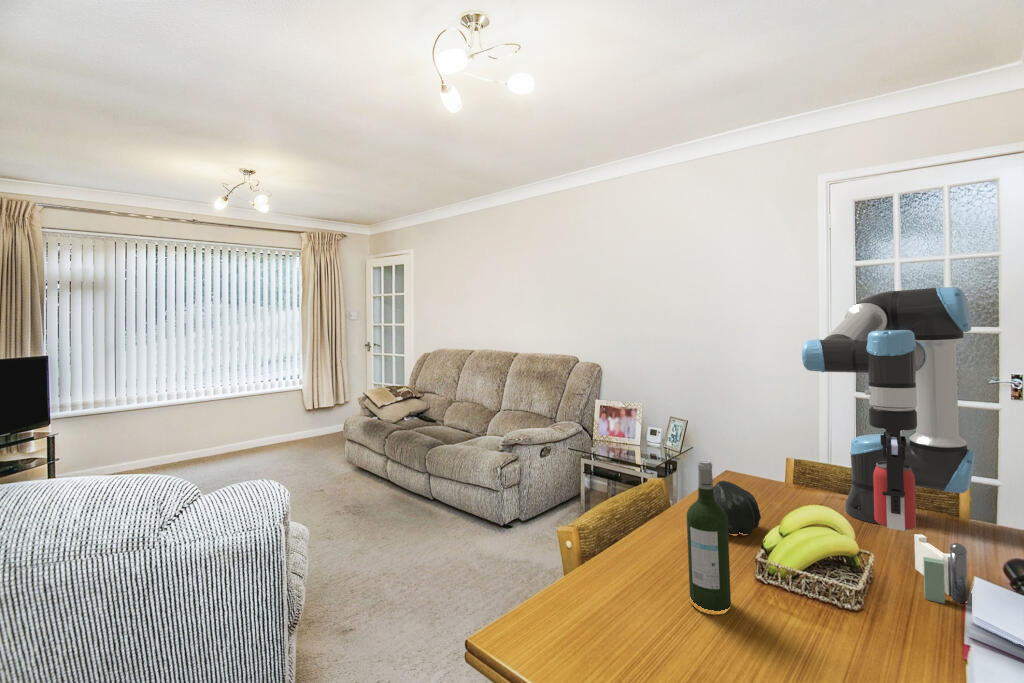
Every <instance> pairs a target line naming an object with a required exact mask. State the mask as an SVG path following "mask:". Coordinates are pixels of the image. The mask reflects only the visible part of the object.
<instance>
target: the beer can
mask: <svg viewBox="0 0 1024 683" xmlns="http://www.w3.org/2000/svg"><path fill="white" fill-rule="evenodd" d="M876 465H877V466H876V468H875V470H874V474H873V482H874V519H875V521H876V522H877V523H878V524H879V525H880V526H882V527H884V528H887V505H886V495H883V494H882V492H886V491H887V469H886V462H878V463H876ZM903 476H904V492H905V495H904V511H905V531H910V530H913V529H915V528H917V508H916V507H917V506H916V505H917V504H916V486H915V477H914V474H913V472H912V470H911V466H909V465H906V464H903ZM896 490H898V489H896ZM878 524H877V525H878Z"/></svg>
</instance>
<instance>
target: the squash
mask: <svg viewBox="0 0 1024 683" xmlns="http://www.w3.org/2000/svg"><path fill="white" fill-rule="evenodd" d="M713 491H714V499H715V502H716V503H717V504H719V505H720V506H721V507H722V508H723V509H724V511H725V513H726V514H727V517H728V533H730V534H738V535H740V534H739V532H740V533H743V534H750V535H751V534H752V532H753V530H755V529H757V528H758V527H759V525H760V521H761V518H762V516H761V512H760V509H759V505H758V502H757V500H756V498H755V496H754V495H753V494H752V493H751V492H750V491H748V490H746V489H744V488H742V487H740V486H739V485H737V484H734V482H733V483H732V482H731V481H730V482H729V481H726V480H719V481H718V482H717V483H716V484H715V485H713Z"/></svg>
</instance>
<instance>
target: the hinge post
mask: <svg viewBox="0 0 1024 683" xmlns="http://www.w3.org/2000/svg"><path fill="white" fill-rule="evenodd" d="M967 553H968V549H967V548H966V547H965V546H964V544H961V543H958V542H955V543H951V544H950V545H949V554H950V562H951V595H950V596H951V597H950V598H952V599H953V600H954V601H953V600H952V599H951V600H952V601H953V602H955V601H956V602H955V603H958V602H959V603H958V604H962V603H964V605H965V602H966V601H967V600H968V571H967V570H968V568H967V563H968V562H967Z"/></svg>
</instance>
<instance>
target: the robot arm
mask: <svg viewBox="0 0 1024 683" xmlns="http://www.w3.org/2000/svg"><path fill="white" fill-rule="evenodd" d="M970 312H971V311H970V308H969V304H968V300H967V297H966V295H965V292H964V291H963V290H962V289H961V288H959V287H955V286H954V287H953V286H950V287H946V286H945V287H942V286H941V287H939V286H937V287H930V288H929V287H928V288H915V289H905V290H889V291H884V292H880V293H877V294H873V295H871V296H868V297H866V298H864V299H862V300H860V301H858V302H857V303H855V304H854V305H853V306H850V308H849V309H848V310H847V311H846V313H845V316H844V320H842V321H841V322H840V323H839V324H838V325H837V326H836V327H835V328H834V329H832V331H831V332H830V333H828V335H827V336H826V337H825V338H824V339H819V338H816V339H809V340H806V341H805V342H804V344H803V346H802V349H801V350H802V351H801V359H802V364H803V367H804V368H805V370H807V371H809V372H821V373H853V374H854V373H860V374H861V373H862V374H867V375H868V389H866V390H865V391H864V394H865V395H866V396H868V403H869V404H868V405H870V406H872V407H870V408H869V409H868V423H869V425H870V426H871V427H873V428H876V429H884V430H885V431H883V433H879V434H878V433H877V434H875V433H873V434H865V435H859V436H858V435H857V436H856V437H854V438H853V439H851V442H850V444H851V445H850V452H849V454H850V466H851V467H850V468H851V487H850V489H849V492H848V495H847V498H846V501H845V505H844V506H845V512H846V513H847V514H848V515H849V516H850V517H852V518H855V519H858V520H860V521H864V522H867V523H871V524H877V525H878V523H877V522H876V521H875V519H874V482H873V474H874V470H875V468H876V466H877V465H876V463H878V462H886V469H887V491H886V492H882V494H883V495H886V505H887V527H886V528H887V529H890V530H898V531H903V532H906V530H905V511H904V495H905V492H904V476H903V464H906V465H909V466H911V470H912V472H913V474H914V477H915V488H916V487H918V488H923V489H924V488H925V489H930V490H936V491H941V492H944V493H946V492H948V493H955V494H956V493H957V494H964V493H966V492H967V491H969V489H970V486H971V482H972V477H973V472H974V466H975V459H976V451H975V450H974V449H971V448H968V442H967V440H965V439H964V438H963V437H962V436H960V434H959V432H960V431H959V426H960V425H959V402H958V373H957V372H958V371H957V370H958V369H957V367H958V366H957V345H958V344H959V343H960V342H962V340H964V333H967V332H970V331H971V330H972V320H971V313H970ZM914 408H915V409H914ZM913 430H915V431H916V432H915V433H914V434H912V435H911V436H909V442H907V439H906V436H903V435H901V434H902V432H901V431H913ZM896 489H898V490H896Z"/></svg>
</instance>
